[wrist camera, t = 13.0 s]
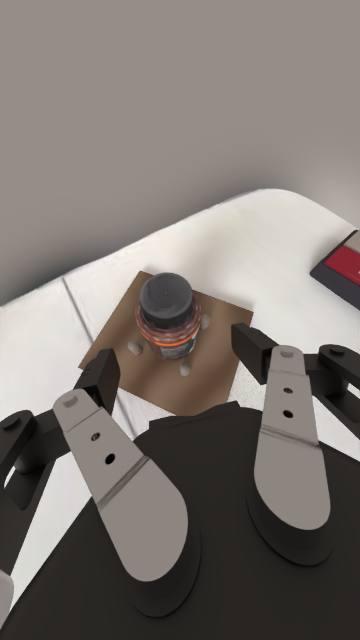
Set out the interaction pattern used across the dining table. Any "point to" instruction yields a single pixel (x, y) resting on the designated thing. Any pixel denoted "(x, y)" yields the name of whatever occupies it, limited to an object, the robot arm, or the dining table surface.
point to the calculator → (342, 270)
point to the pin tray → (174, 376)
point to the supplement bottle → (168, 316)
